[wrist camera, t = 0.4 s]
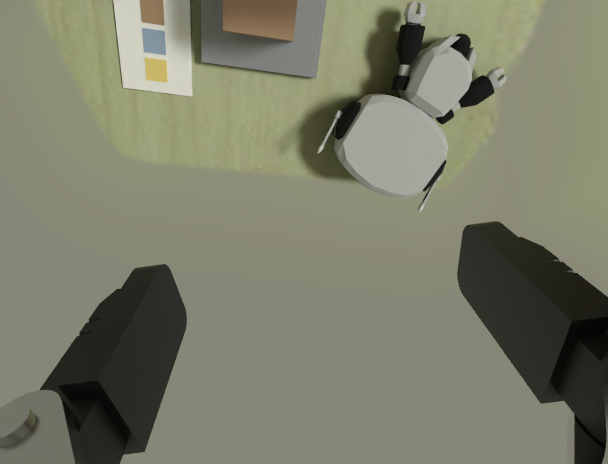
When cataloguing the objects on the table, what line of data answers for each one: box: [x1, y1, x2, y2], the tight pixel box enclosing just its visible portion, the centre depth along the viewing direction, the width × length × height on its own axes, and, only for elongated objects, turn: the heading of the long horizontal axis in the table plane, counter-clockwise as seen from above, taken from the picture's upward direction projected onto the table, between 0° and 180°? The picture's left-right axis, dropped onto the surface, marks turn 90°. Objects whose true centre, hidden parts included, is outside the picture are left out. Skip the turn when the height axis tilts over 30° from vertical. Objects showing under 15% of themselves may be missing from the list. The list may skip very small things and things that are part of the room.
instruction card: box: [113, 0, 192, 96], centre depth 29 cm, size 8×6×1 cm
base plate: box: [201, 0, 327, 78], centre depth 28 cm, size 10×10×1 cm
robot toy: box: [318, 1, 506, 212], centre depth 31 cm, size 12×4×15 cm
